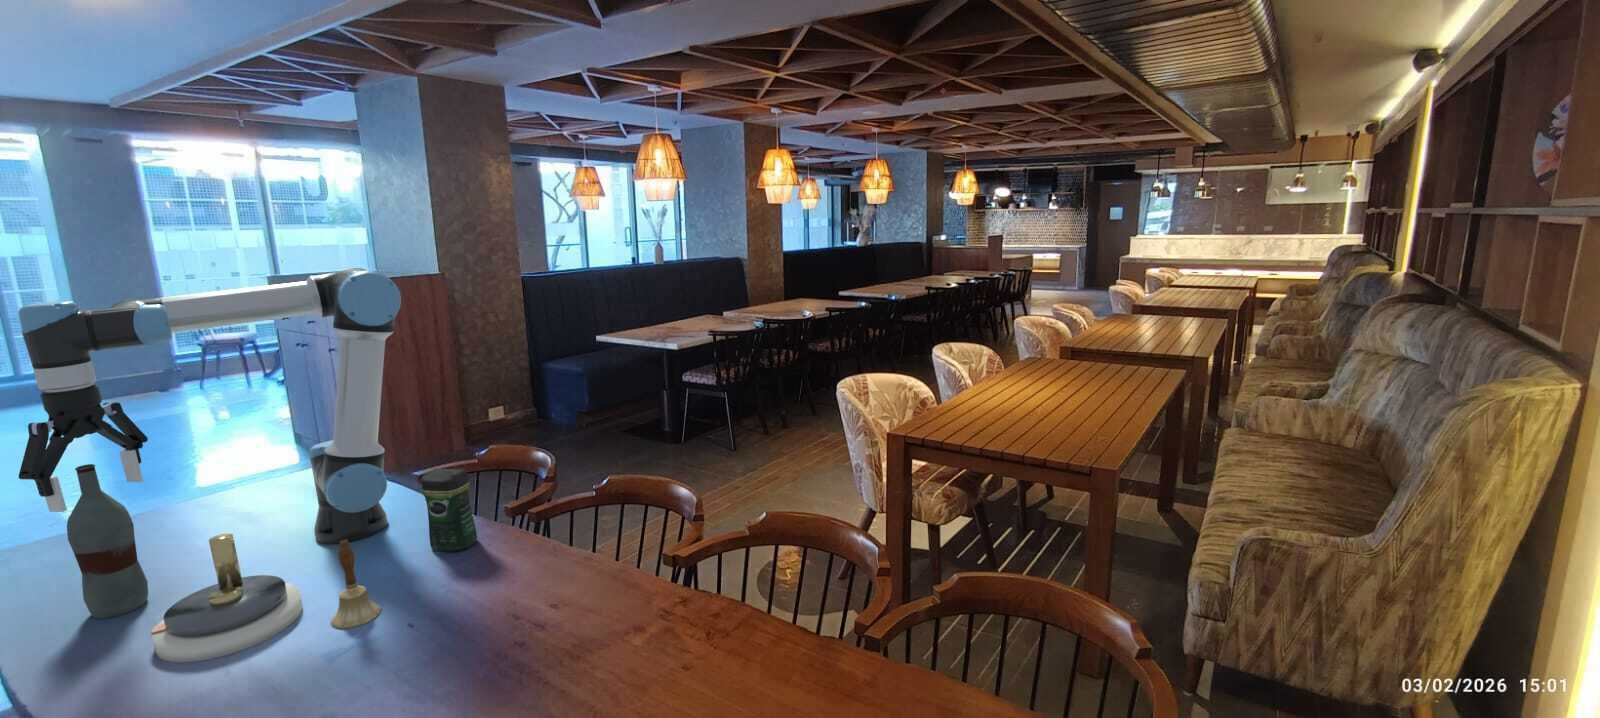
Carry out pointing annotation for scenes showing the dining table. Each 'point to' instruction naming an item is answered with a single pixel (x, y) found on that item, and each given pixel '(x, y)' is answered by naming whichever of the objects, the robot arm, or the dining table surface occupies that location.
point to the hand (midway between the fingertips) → (98, 495)
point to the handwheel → (225, 597)
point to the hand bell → (352, 595)
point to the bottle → (105, 550)
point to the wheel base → (227, 634)
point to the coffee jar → (449, 509)
